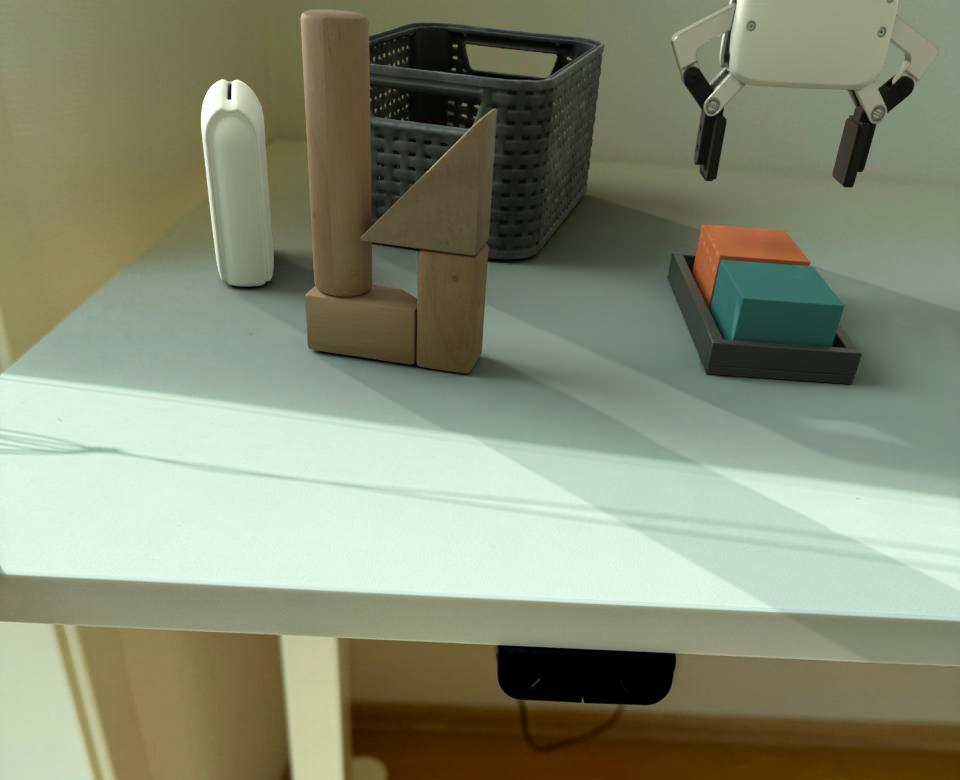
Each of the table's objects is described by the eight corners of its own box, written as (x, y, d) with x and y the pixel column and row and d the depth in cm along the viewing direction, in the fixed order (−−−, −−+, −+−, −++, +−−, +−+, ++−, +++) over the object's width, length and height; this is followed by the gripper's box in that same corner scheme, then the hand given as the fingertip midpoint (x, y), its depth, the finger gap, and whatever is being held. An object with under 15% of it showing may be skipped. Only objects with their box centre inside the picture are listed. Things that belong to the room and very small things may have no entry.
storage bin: (529, 268, 75) (546, 77, 66) (309, 235, 78) (299, 49, 70) (591, 190, 96) (610, 39, 88) (417, 167, 100) (419, 19, 91)
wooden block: (470, 376, 57) (489, 32, 46) (306, 352, 59) (285, 11, 47) (482, 355, 60) (504, 25, 49) (326, 332, 61) (311, 6, 50)
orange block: (771, 282, 74) (785, 230, 71) (795, 318, 67) (810, 261, 65) (691, 277, 74) (701, 224, 71) (707, 311, 67) (719, 255, 65)
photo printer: (219, 246, 74) (200, 68, 66) (274, 247, 75) (260, 70, 67) (215, 289, 66) (192, 93, 59) (276, 289, 67) (261, 95, 59)
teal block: (797, 322, 67) (813, 266, 64) (826, 366, 60) (845, 305, 58) (708, 316, 67) (720, 259, 64) (728, 359, 60) (742, 297, 58)
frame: (667, 278, 75) (672, 251, 74) (783, 286, 75) (790, 259, 74) (706, 374, 60) (713, 342, 58) (852, 384, 60) (862, 353, 59)
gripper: (964, -126, 58) (879, 173, 68) (688, -139, 58) (647, 162, 68) (1014, -128, 52) (913, 199, 63) (708, -142, 52) (659, 187, 63)
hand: (774, 179), depth 65 cm, fingers open, 9 cm apart
